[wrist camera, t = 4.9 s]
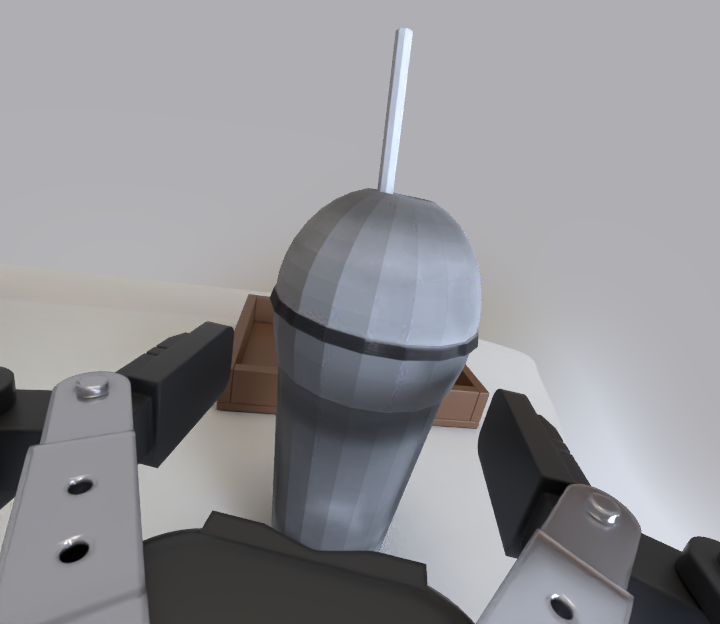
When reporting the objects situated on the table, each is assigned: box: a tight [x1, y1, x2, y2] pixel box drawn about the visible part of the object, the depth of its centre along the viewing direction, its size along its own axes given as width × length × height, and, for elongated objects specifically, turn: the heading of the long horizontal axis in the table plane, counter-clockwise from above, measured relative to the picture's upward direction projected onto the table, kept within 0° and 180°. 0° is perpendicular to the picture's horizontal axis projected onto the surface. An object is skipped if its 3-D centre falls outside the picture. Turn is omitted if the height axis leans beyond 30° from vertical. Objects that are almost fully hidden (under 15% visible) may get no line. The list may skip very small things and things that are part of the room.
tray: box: [217, 294, 489, 428], centre depth 33 cm, size 19×15×3 cm
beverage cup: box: [270, 28, 482, 552], centre depth 14 cm, size 7×7×20 cm
